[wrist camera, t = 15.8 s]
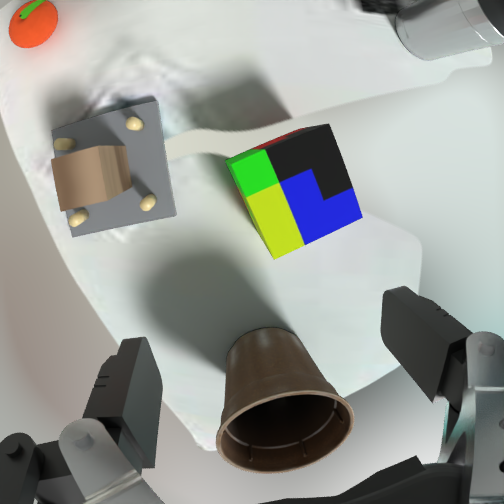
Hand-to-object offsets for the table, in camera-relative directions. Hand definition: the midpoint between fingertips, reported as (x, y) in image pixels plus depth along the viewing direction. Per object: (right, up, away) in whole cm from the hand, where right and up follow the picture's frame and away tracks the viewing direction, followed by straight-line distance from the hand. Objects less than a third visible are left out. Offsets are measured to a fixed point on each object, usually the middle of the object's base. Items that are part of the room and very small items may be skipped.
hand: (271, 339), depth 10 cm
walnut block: (-17, +12, +24) cm, 32 cm away
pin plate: (-18, +13, +25) cm, 33 cm away
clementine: (-28, +33, +17) cm, 47 cm away
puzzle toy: (+3, +12, +29) cm, 31 cm away
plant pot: (+1, -14, +37) cm, 39 cm away
